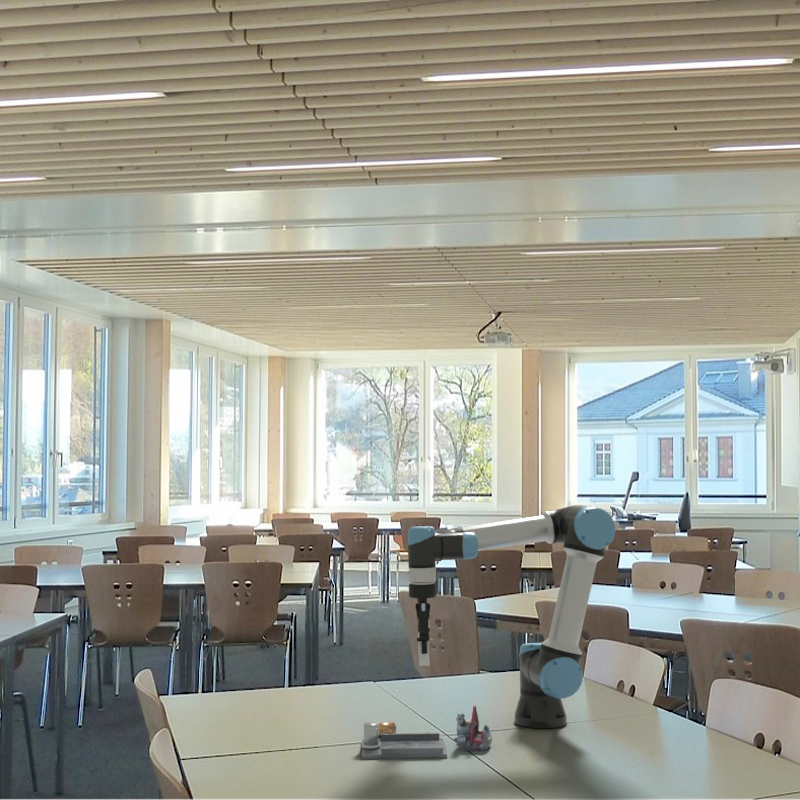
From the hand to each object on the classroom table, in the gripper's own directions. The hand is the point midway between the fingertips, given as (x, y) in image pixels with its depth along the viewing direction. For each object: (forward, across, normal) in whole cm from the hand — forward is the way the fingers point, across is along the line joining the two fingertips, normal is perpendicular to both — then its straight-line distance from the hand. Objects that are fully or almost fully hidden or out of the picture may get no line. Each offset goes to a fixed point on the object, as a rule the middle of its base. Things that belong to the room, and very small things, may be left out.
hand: (423, 661), depth 296 cm
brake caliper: (+22, +6, +12) cm, 26 cm away
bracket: (+22, +8, -6) cm, 24 cm away
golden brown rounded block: (+22, -7, -12) cm, 26 cm away
